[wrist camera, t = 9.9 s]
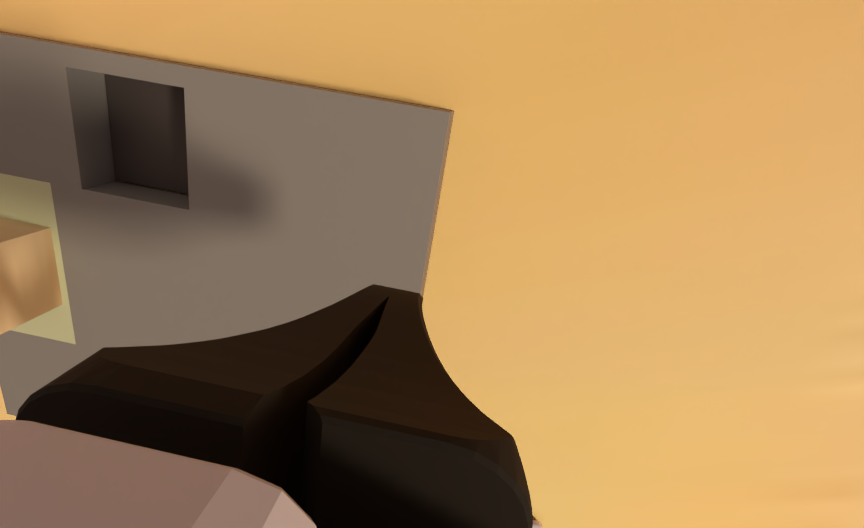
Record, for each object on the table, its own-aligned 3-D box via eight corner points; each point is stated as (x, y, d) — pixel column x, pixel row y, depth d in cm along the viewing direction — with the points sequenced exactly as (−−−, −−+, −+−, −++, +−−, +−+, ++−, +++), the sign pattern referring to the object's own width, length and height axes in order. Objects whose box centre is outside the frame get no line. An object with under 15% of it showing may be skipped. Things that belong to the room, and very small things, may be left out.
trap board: (393, 471, 26) (385, 500, 24) (40, 391, 27) (7, 413, 25) (453, 110, 19) (449, 112, 17) (-34, 25, 20) (-89, 18, 18)
